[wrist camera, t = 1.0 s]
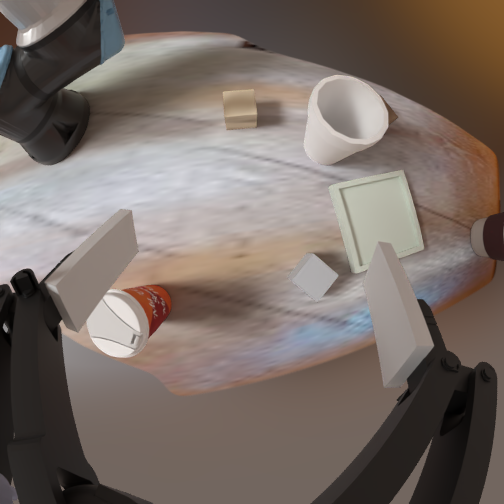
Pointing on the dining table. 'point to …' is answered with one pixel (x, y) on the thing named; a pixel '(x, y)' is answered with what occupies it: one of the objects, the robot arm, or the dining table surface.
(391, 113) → the walnut block
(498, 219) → the coffee cup
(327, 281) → the grey painted block
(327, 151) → the foam cup
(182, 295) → the dining table surface
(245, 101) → the beech block
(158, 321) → the paper cup
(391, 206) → the tray
